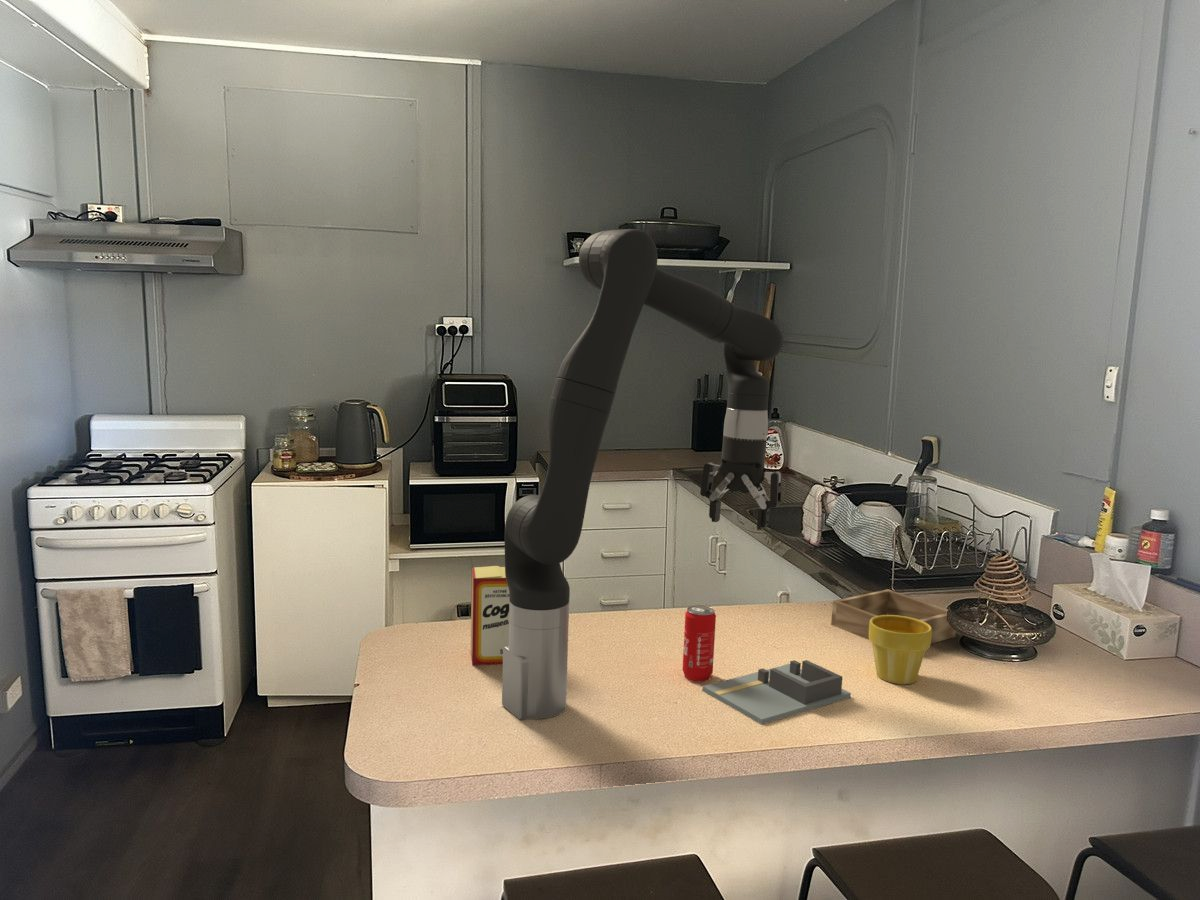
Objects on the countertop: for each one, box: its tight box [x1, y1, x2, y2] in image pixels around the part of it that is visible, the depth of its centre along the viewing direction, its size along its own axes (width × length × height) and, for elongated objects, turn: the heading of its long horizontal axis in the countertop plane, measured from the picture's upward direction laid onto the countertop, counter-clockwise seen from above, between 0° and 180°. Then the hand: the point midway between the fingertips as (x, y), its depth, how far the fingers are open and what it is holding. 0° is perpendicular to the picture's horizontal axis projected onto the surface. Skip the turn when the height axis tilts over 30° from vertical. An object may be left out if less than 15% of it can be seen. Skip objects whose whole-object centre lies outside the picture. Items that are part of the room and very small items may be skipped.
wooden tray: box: [830, 589, 957, 644], centre depth 181 cm, size 17×17×5 cm
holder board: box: [702, 659, 852, 725], centre depth 148 cm, size 20×14×4 cm
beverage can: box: [682, 604, 717, 683], centre depth 154 cm, size 5×5×12 cm
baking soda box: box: [470, 565, 509, 666], centre depth 159 cm, size 10×6×16 cm
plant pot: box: [869, 614, 932, 685], centre depth 157 cm, size 10×10×10 cm
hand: (737, 525), depth 159 cm, fingers open, 8 cm apart
